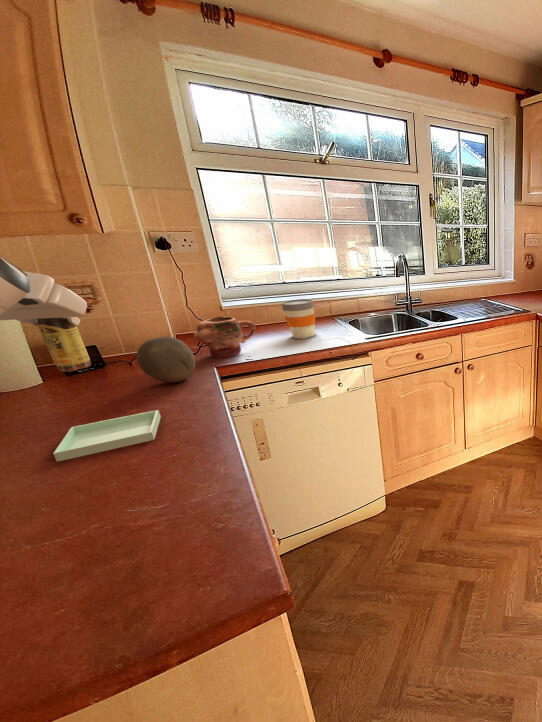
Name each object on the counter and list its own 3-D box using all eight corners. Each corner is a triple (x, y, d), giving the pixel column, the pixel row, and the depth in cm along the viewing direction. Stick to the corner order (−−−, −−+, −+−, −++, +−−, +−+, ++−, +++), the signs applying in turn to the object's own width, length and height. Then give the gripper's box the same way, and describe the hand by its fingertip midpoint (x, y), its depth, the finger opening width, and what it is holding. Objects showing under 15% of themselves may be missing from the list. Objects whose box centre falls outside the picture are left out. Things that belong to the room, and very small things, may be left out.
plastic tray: (56, 461, 93) (52, 453, 92) (74, 434, 104) (71, 427, 104) (154, 439, 101) (151, 432, 100) (160, 416, 113) (158, 409, 112)
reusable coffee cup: (293, 332, 193) (286, 299, 187) (322, 330, 195) (316, 298, 189) (284, 340, 182) (276, 305, 176) (315, 338, 184) (308, 303, 178)
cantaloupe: (199, 371, 146) (186, 329, 140) (201, 383, 135) (187, 338, 130) (147, 381, 138) (131, 336, 133) (145, 394, 128) (127, 346, 122)
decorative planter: (255, 345, 175) (247, 311, 170) (264, 351, 167) (255, 316, 162) (198, 355, 163) (187, 320, 158) (204, 363, 154) (192, 325, 149)
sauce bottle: (52, 372, 103) (13, 290, 96) (83, 363, 109) (48, 285, 101) (69, 374, 101) (31, 290, 94) (99, 365, 107) (65, 286, 99)
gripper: (-63, 303, 86) (6, 337, 99) (47, 299, 89) (101, 332, 101) (-50, 278, 89) (16, 314, 102) (56, 274, 91) (108, 310, 104)
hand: (59, 323), depth 101 cm, fingers closed on sauce bottle, 6 cm apart
